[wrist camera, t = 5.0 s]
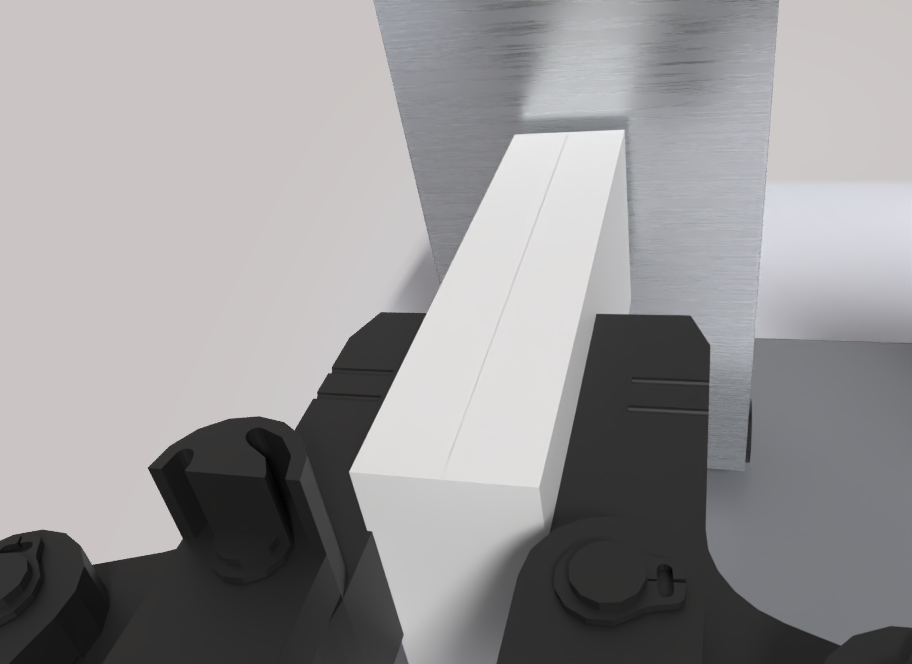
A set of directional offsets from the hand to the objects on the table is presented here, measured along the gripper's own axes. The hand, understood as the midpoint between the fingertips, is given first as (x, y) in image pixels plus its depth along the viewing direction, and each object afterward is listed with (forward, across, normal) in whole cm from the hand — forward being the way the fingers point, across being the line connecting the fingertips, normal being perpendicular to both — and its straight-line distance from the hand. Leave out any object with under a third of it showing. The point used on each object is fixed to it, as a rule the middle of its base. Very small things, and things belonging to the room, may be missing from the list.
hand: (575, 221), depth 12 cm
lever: (+2, 0, -6) cm, 6 cm away
